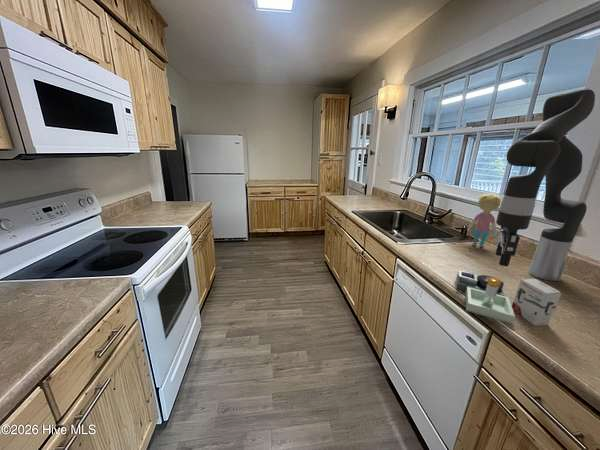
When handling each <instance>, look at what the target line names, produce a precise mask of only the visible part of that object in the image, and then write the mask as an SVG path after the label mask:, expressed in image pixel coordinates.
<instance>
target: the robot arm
mask: <svg viewBox="0 0 600 450" xmlns="http://www.w3.org/2000/svg"><path fill="white" fill-rule="evenodd" d="M595 102H596V94H595V91H594V90H592V89H588V88H586V89H585V88H583V89H578V90H577V89H576V90H574V91H569V92H563V93H559V94H554V95H551V96H549V97H548V98H546V99H545V100H544V103H543V105H542V114H541V115H542V123H539V124H538V126H536V127H535V128H534V130H533V131H532V132H531V133H529V134H527V135H525V136H523V137H522V138H519V139H518V140H516V141H515V142H514V143H512V144H511V145H510V147H509V148H508V151H507V153H506V161H507V163H508V164H509V165H510V166H513V167H523V168H524V167H525V168H534V170H533V171H531V172H530V173H527V174H518V175H515V174H514V175H512V176H510V177H509V179H508V182H507V185H506V188H505V192H504V196H503V198H502V199H501V203H500V206H499V210H498V213H497V217H496V219H495V225H496V226H499V227H500V228H499V232H498V234H497V237H496V239H497V242H496V243H497V246H496V249H495V256H497V257H500V259H499V262H498V264H499V266H501V267H509V265H510V262H511V258H512V257H515V256H516V251H517V247H518V244H519V241H520V238H521V237H520V234H518V231H519V230H527V229H528V228H529V226H530V223H531V219H532V216H533V212H534V210H535V206H536V200H537V196H538V193H539V190H540V186H541V184H542V182H543V179H545V194H544V200H543V210H542V211H543V217H544V218H545V220H547V221H551V222H555V223H560V224H562V226H561V227H559V228H545V229H542V230H541V234H540V236H539V239H538V242H537V244H536V245H537V246H536V249H535V251H534V254H533V256H532V257H533V258H532V261H531V263H530V266H529V269H528V273H529V275H532V276H534V277H536V278H538V279H541V280H546V281H550V282H551V281H553V282H554V281H557V282H560V281H561V279H562V278H561V277H562V275H563V274H564V270H565V268H566V266H567V263H568V260H567V256H568V254H569V251H570V248H571V246H572V244H573V241H574V238H575V236H576V235H577V232H578V230H579V228H580V226H581V224H582V221H583V219H584V218H585V215H586V214H587V213H586V212H587V204H586V203H584V202H583V201H576V200H571V199H563V198H562V196H561V195H562V192H563V191H564V189H565V188H566V187H568V186H569V185H570V184H571V183H573V181H575V180H576V179H577V178H578V177H579V176H580V174H581V173H582V169H583V152H582V151H581V150H580V148H578V146H576V145H575V144H574V142H572V141H571V140H570V139H569V138H568V137H566V134H567V133H568V132H570V131H572V129H574V128H576V127H577V126H578V125H579V124H581V122H583V121H585V120H586V119H587V118H588V117H589V116H590V115H591V113H592V112H593V110H594V107H595V104H596V103H595ZM508 249H510V250H508Z"/></svg>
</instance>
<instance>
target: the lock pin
mask: <svg viewBox="0 0 600 450" xmlns="http://www.w3.org/2000/svg"><path fill="white" fill-rule="evenodd" d="M496 278H497V277H494V278H488V281H487V283H488V284H487V287H486V290H485V294H484V297H483V301H482V304H481V305H482V306H486V307H489V308H492V307H493V304H494V301H495V298H496V294H497V291H498V288H499V287H500V284H501V281H502V280H501V281H500V279H499V280H498V278H497V279H496Z"/></svg>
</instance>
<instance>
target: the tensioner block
mask: <svg viewBox="0 0 600 450" xmlns="http://www.w3.org/2000/svg"><path fill="white" fill-rule="evenodd" d="M488 278H496V279H498V278H497V277H494V276H489V275H486V274H480V275H477V274H476V273H473V272H468V271H465V270H460V269H459V270H458V272H457V274H456V277H455V290H456V291H458V292H462V293H466V289H467V287H470V288H474V289H478V290H482V291H485V290H486V287H487V284H488V283H487V281H488ZM498 280H500V279H498ZM500 281H501V284H500V287H499V288H498V291H497V294H498V295H502V296H505V293H504V290H503V288H504V285H505V283H504V282H503V281H502V280H500Z"/></svg>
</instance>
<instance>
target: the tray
mask: <svg viewBox="0 0 600 450" xmlns="http://www.w3.org/2000/svg"><path fill="white" fill-rule="evenodd" d="M464 293H465V295H464V296H465V312H469V313H472V314H475V315H478V316H483V317H484V318H485V317H486V318H489V319H493V320H497V321H499V322H502V323H506V324H509V325H513V323H514V321H515V317H516V314H515V311H513V309H512V304H511V301H510V299H509V297H508V296H505V295H504V296H502V295H498V294H496V298H495V301H494V304H493V307H492V308H489V307H486V306H482V305H481V304H482V301H483V297H484V294H485V291H482V290H478V289H474V288H470V287H467V289H466V292H464Z"/></svg>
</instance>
